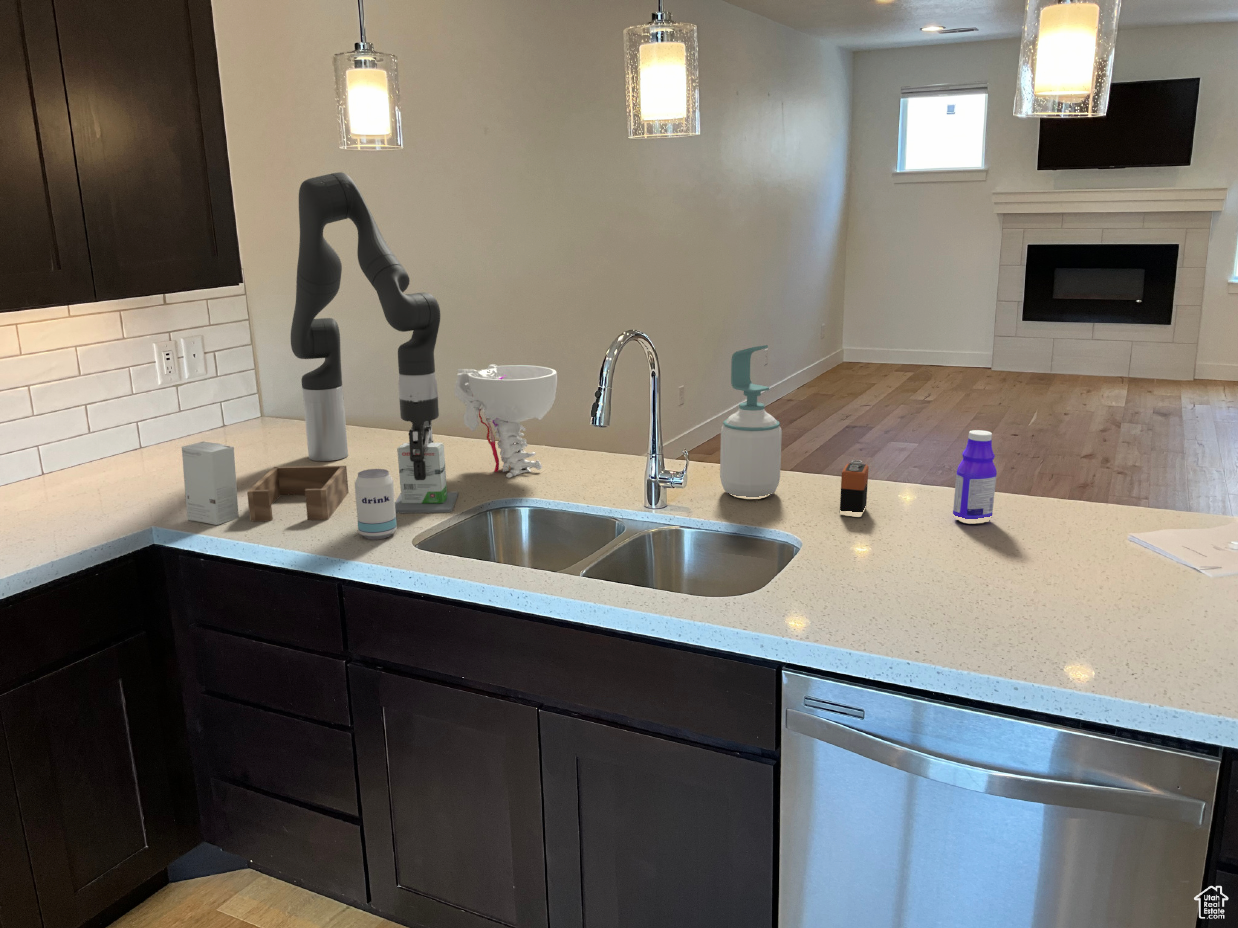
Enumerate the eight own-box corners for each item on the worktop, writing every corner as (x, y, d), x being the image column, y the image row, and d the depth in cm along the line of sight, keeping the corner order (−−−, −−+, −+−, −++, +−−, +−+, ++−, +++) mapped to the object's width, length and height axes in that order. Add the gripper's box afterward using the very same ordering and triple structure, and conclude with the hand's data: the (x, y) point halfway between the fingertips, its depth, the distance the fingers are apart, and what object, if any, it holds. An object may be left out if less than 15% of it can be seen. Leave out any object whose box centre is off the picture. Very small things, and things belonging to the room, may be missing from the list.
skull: (573, 465, 232) (571, 367, 226) (539, 486, 215) (535, 381, 209) (477, 456, 240) (473, 362, 234) (437, 476, 223) (431, 375, 217)
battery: (866, 508, 198) (869, 459, 195) (861, 518, 192) (864, 468, 189) (844, 506, 199) (846, 458, 197) (839, 516, 193) (841, 466, 191)
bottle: (977, 514, 193) (985, 427, 189) (998, 523, 188) (1006, 433, 184) (946, 519, 191) (953, 430, 186) (966, 528, 186) (974, 437, 181)
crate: (277, 494, 211) (274, 466, 210) (348, 492, 212) (346, 465, 210) (250, 521, 194) (247, 491, 192) (328, 519, 194) (325, 489, 193)
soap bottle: (750, 506, 200) (754, 351, 192) (707, 493, 209) (709, 344, 201) (792, 494, 207) (797, 345, 199) (748, 482, 217) (752, 339, 209)
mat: (400, 495, 209) (400, 492, 209) (458, 494, 210) (458, 491, 210) (390, 513, 198) (390, 510, 198) (451, 511, 198) (451, 509, 198)
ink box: (448, 497, 206) (445, 441, 203) (442, 504, 201) (439, 447, 198) (407, 496, 206) (403, 441, 203) (400, 503, 202) (396, 446, 199)
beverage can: (359, 542, 181) (354, 479, 178) (358, 531, 187) (353, 469, 184) (398, 539, 183) (393, 476, 180) (395, 527, 189) (391, 466, 186)
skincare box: (186, 520, 195) (177, 446, 191) (210, 512, 200) (201, 440, 196) (219, 526, 191) (210, 451, 187) (242, 517, 196) (234, 443, 193)
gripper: (405, 388, 205) (410, 465, 209) (393, 402, 191) (398, 484, 195) (442, 388, 205) (446, 464, 209) (432, 402, 191) (437, 483, 195)
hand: (423, 473), depth 202 cm, fingers open, 8 cm apart
